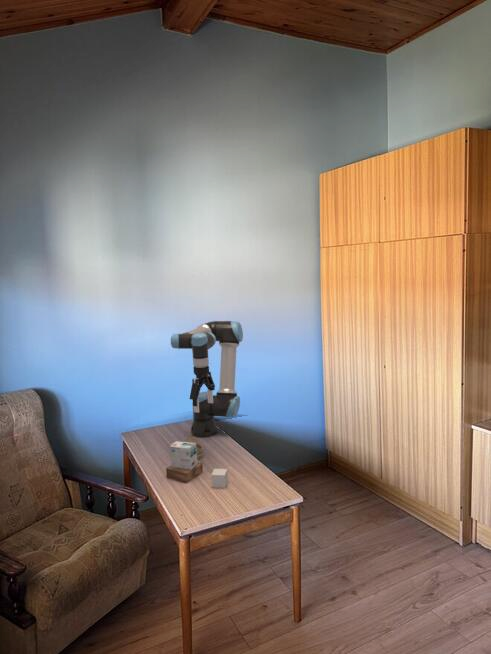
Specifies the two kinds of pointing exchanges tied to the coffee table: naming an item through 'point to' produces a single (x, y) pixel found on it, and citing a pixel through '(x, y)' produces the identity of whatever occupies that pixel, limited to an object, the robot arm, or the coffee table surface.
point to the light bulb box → (183, 455)
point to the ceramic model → (198, 447)
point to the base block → (184, 473)
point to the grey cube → (219, 478)
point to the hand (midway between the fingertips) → (203, 407)
